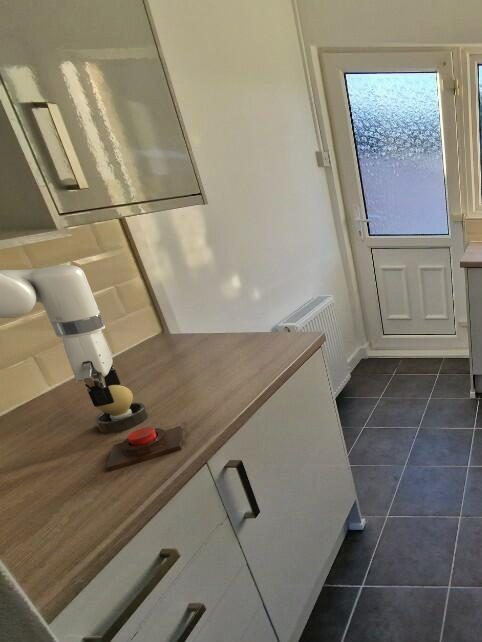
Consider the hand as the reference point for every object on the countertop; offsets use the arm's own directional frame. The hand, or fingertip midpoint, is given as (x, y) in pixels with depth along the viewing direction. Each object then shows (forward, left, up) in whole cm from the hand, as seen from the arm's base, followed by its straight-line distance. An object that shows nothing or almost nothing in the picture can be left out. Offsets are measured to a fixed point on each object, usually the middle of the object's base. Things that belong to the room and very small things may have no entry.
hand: (108, 395), depth 94 cm
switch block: (+6, -14, -9) cm, 17 cm away
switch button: (+6, -14, -6) cm, 16 cm away
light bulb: (+1, 0, -8) cm, 8 cm away
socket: (+1, 0, -9) cm, 9 cm away
